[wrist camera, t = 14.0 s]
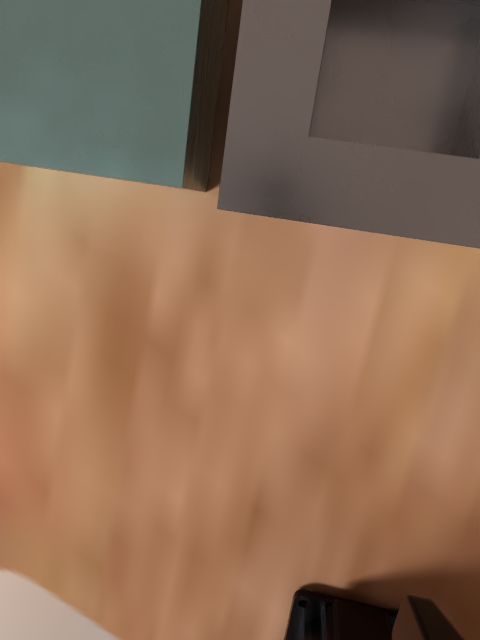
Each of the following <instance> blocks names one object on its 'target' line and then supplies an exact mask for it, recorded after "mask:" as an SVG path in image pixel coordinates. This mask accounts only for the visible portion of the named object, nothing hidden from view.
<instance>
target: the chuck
mask: <svg viewBox="0 0 480 640" xmlns="http://www.w3.org/2000/svg"><path fill="white" fill-rule="evenodd" d="M228 3H229V0H0V162H5V163H12V164H18V165H25V166H32V167H39V168H46V169H52V170H59V171H66V172H73V173H80V174H87V175H93V176H100V177H107V178H114V179H121V180H127V181H134V182H141V183H148V184H155V185H162V186H168V187H175V188H182V189H189V190H196V191H202V192H207V183H208V175H209V166H210V157H211V149H212V140H213V132H214V123H215V115H216V106H217V97H218V89H219V80H220V72H221V63H222V55H223V46H224V37H225V29H226V20H227V12H228ZM217 209H220V210H227V211H234V212H240V213H247V214H254V215H260V216H267V217H274V218H280V219H287V220H294V221H300V222H307V223H314V224H320V225H327V226H334V227H340V228H347V229H354V230H360V231H367V232H374V233H380V234H387V235H394V236H400V237H407V238H414V239H420V240H427V241H434V242H440V243H447V244H454V245H460V246H467V247H474V248H480V0H243V4H242V12H241V20H240V28H239V36H238V44H237V52H236V60H235V68H234V76H233V84H232V92H231V101H230V109H229V117H228V125H227V133H226V141H225V149H224V157H223V165H222V173H221V181H220V189H219V197H218V205H217Z"/></svg>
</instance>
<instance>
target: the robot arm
mask: <svg viewBox="0 0 480 640" xmlns="http://www.w3.org/2000/svg"><path fill="white" fill-rule="evenodd" d="M301 600H305V601H301ZM284 640H464V639H463V637H462V636H461V635H460V634H459V633H458V631H457V630H456V629H455V628H454V626H453V625H452V624H451V623H450V621H449V620H448V619H447V618H446V616H445V615H444V614H443V613H442V612H441V610H440V609H439V608H438V607H437V605H436V604H435V603H434V602H433V601H432V600H431V599H430V598H427V597H424V596H419V595H415V594H411V593H408V594H405V595H404V597H403V599H402V601H401V605H400V608H399V611H394V610H390V609H385V608H381V607H377V606H372V605H368V604H364V603H359V602H355V601H351V600H346V599H342V598H338V597H334V596H329V595H325V594H321V593H316V592H312V591H308V590H298V591H296V592H295V594H294V596H293V601H292V605H291V610H290V615H289V619H288V624H287V628H286V633H285V637H284Z"/></svg>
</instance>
